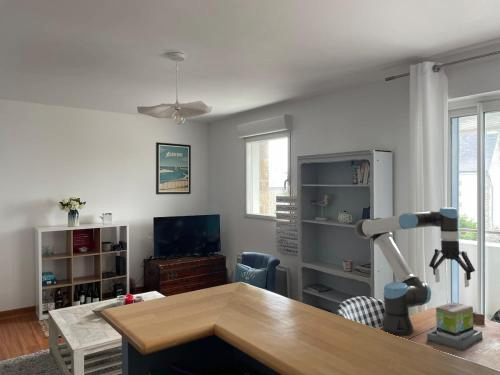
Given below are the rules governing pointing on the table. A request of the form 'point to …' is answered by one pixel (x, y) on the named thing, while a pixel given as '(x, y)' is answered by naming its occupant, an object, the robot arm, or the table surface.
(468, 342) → the charcoal tray
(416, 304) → the robot arm
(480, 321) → the walnut holder
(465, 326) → the tea box
